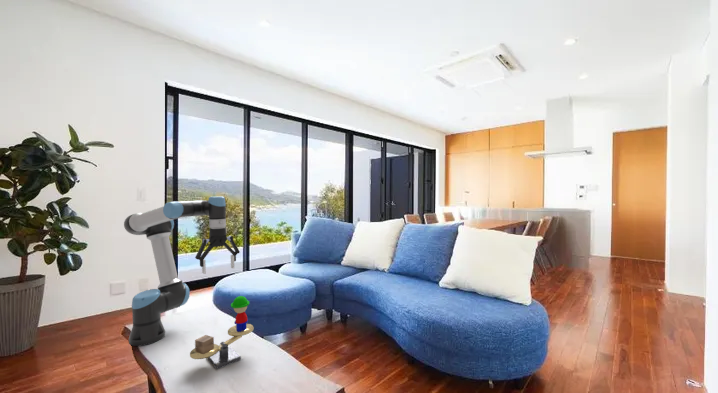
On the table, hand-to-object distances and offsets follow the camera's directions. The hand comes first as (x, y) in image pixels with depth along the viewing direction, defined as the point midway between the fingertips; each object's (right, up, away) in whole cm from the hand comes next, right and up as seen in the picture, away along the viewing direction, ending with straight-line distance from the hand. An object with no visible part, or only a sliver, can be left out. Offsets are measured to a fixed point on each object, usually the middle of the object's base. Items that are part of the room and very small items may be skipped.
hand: (218, 270), depth 152 cm
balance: (+10, -35, -17) cm, 40 cm away
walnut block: (+4, -28, -22) cm, 36 cm away
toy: (+15, -24, -12) cm, 31 cm away
